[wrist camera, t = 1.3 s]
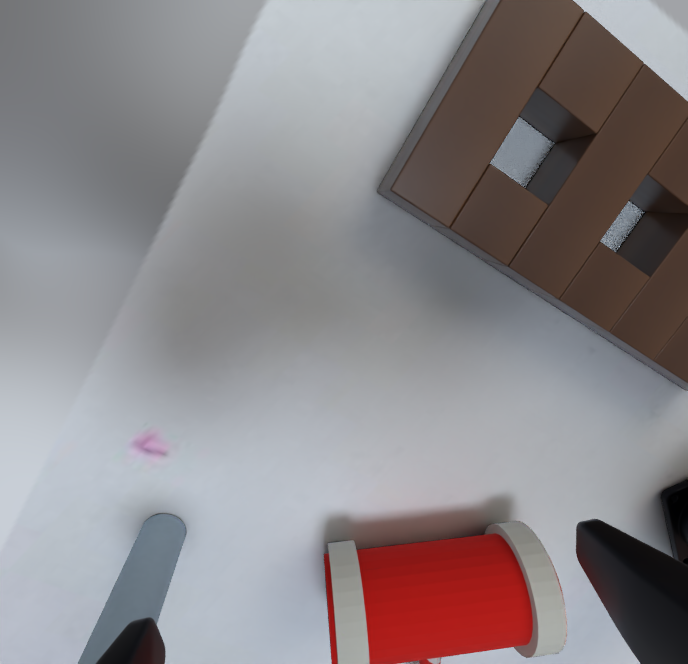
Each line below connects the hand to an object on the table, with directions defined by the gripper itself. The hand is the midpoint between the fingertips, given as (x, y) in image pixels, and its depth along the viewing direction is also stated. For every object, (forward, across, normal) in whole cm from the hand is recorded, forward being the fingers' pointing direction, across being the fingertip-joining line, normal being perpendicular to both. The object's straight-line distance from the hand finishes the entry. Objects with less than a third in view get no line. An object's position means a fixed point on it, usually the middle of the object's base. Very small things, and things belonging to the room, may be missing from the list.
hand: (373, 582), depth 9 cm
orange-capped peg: (+14, +11, +9) cm, 20 cm away
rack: (+14, -15, -4) cm, 21 cm away
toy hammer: (+14, -3, +20) cm, 24 cm away
